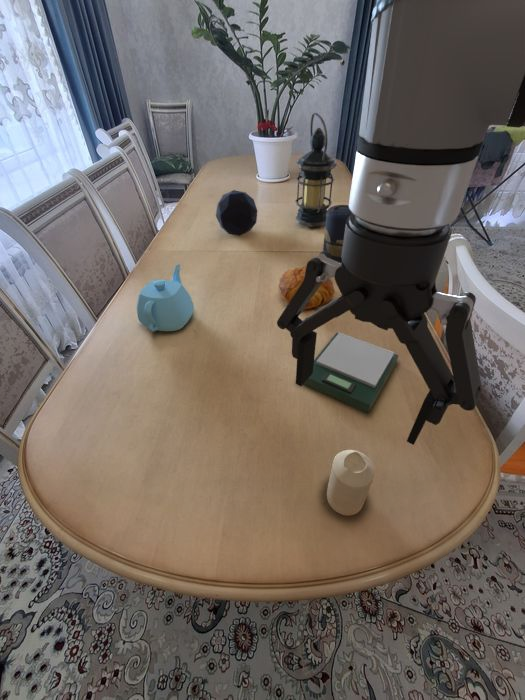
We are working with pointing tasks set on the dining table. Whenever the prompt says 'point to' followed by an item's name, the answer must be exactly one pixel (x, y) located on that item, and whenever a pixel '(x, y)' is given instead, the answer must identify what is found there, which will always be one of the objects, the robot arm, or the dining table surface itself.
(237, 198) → the decorative orb
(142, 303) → the teapot
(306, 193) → the lantern
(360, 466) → the candle
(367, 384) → the scale
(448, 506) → the dining table surface
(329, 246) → the canister
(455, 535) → the dining table surface
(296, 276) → the croissant
